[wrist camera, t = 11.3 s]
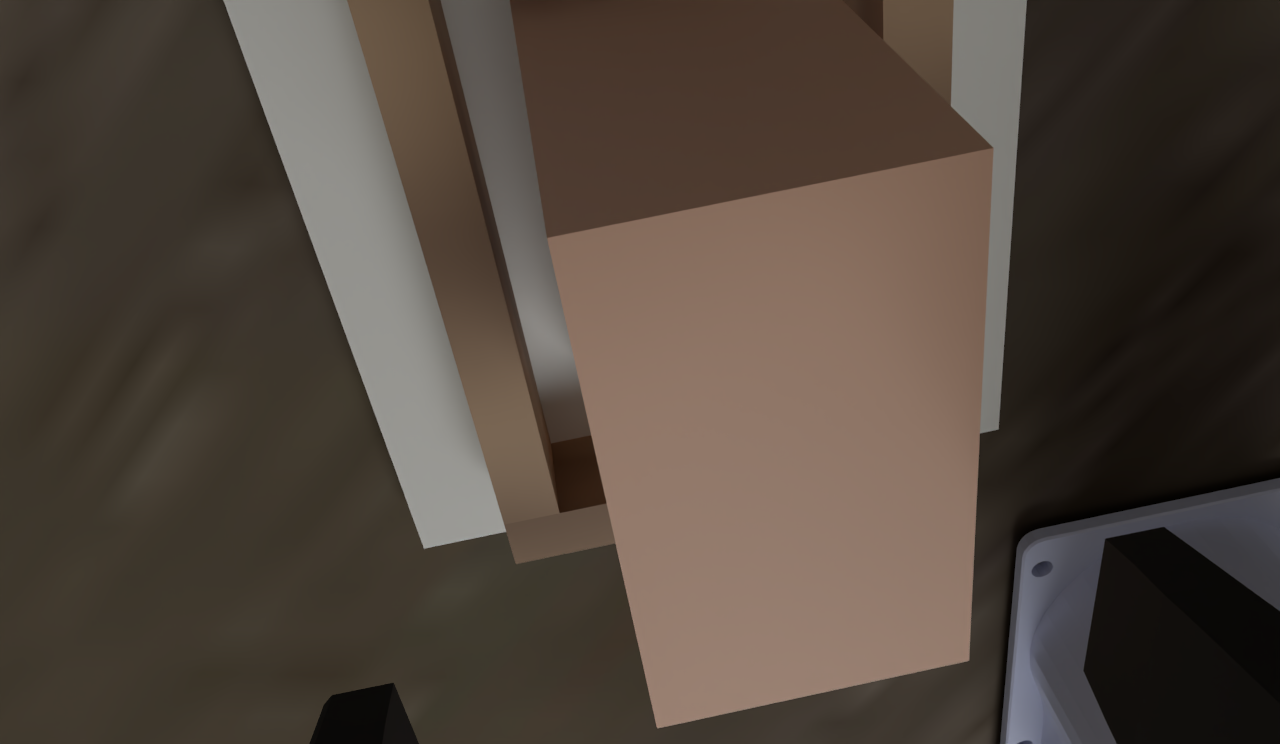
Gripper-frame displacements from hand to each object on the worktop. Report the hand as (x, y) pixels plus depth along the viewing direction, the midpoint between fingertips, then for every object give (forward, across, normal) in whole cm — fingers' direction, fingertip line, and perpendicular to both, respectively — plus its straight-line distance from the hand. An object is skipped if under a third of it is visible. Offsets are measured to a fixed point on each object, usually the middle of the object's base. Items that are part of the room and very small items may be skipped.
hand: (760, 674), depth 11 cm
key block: (+9, -1, -1) cm, 9 cm away
